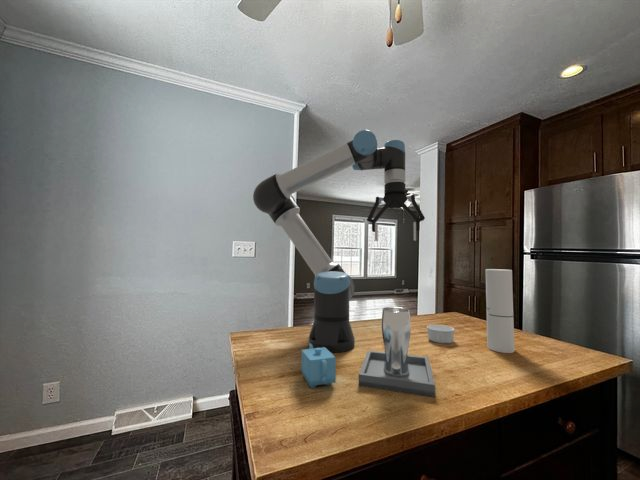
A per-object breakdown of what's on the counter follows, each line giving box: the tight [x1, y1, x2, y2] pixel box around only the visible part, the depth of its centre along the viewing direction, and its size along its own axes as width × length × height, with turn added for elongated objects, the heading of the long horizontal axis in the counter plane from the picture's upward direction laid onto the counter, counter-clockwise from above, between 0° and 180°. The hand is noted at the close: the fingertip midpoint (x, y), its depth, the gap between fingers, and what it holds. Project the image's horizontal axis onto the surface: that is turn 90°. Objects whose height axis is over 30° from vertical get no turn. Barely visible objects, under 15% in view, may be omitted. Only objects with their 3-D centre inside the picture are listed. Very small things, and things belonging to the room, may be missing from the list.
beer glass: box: [381, 306, 412, 377], centre depth 67 cm, size 7×7×15 cm
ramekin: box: [426, 324, 455, 344], centre depth 95 cm, size 9×9×4 cm
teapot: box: [300, 342, 337, 388], centre depth 64 cm, size 12×6×8 cm, turn 19°
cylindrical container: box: [484, 268, 515, 354], centre depth 86 cm, size 7×7×25 cm
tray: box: [358, 350, 436, 398], centre depth 66 cm, size 16×16×2 cm
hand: (395, 240), depth 99 cm, fingers open, 13 cm apart
